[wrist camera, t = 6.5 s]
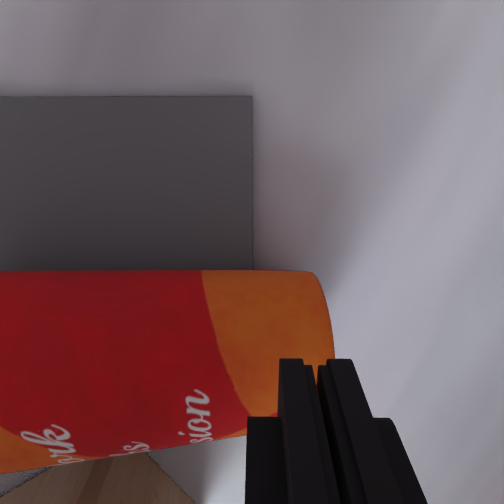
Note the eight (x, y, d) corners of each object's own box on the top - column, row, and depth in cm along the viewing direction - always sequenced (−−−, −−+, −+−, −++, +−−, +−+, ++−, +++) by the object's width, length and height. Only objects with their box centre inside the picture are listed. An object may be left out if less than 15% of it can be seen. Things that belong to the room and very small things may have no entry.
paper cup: (300, 415, 20) (-16, 444, 19) (289, 251, 20) (-19, 268, 19) (357, 499, 12) (-180, 561, 11) (336, 231, 13) (-179, 258, 11)
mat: (253, 397, 21) (252, 404, 21) (-49, 396, 21) (-56, 403, 21) (252, 95, 16) (252, 96, 16) (-139, 97, 16) (-150, 97, 16)
